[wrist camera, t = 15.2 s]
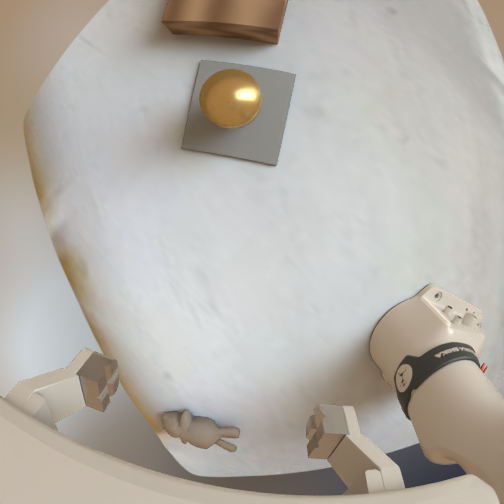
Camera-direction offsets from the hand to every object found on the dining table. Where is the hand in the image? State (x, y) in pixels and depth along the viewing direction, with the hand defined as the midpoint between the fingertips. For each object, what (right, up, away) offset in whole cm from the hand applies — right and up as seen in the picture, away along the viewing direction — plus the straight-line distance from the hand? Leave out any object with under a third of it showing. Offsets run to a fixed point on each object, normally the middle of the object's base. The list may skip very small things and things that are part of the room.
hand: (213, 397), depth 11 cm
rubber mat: (0, +23, +23) cm, 33 cm away
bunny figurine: (-8, -28, +41) cm, 50 cm away
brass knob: (0, +23, +23) cm, 32 cm away
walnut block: (-1, +40, +18) cm, 43 cm away
